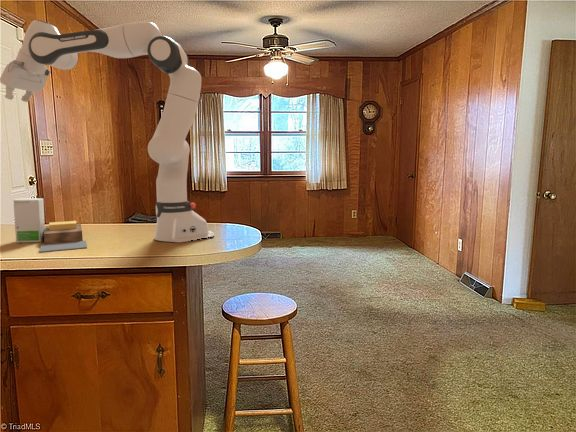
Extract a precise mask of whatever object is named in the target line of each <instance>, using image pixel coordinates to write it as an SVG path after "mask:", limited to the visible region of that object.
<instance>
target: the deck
mask: <svg viewBox="0 0 576 432" xmlns="http://www.w3.org/2000/svg"><path fill="white" fill-rule="evenodd" d="M83 238H84V237H83V229H82V224H81V223H77V229H63V230H50V231H49V225H48V226H47V225H45V231H44V240H43V241H44V244H53V243H64V242H76V241H84V240H83Z"/></svg>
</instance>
